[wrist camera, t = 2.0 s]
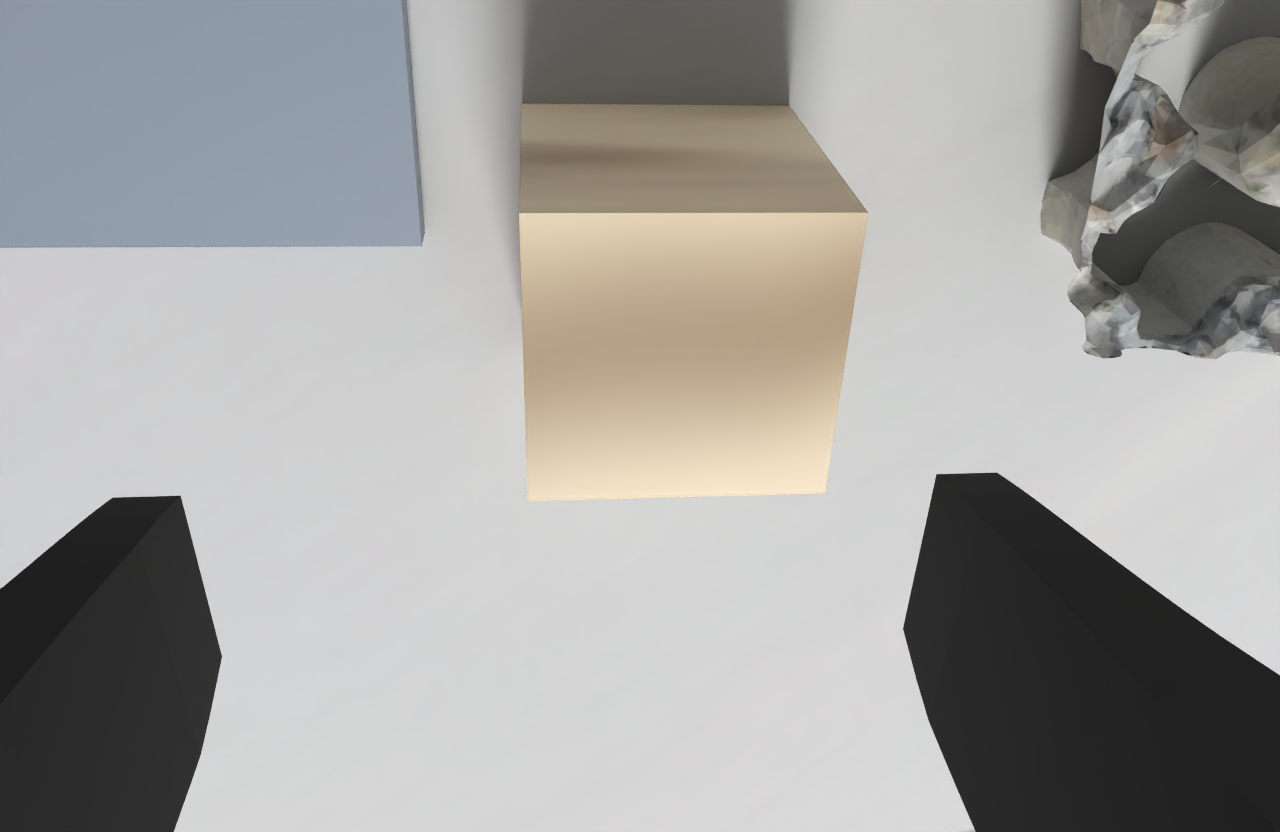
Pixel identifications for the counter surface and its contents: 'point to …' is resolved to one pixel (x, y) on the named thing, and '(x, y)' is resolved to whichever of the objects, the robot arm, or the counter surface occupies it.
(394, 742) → the counter surface
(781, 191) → the oak block
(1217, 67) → the egg carton
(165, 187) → the board
